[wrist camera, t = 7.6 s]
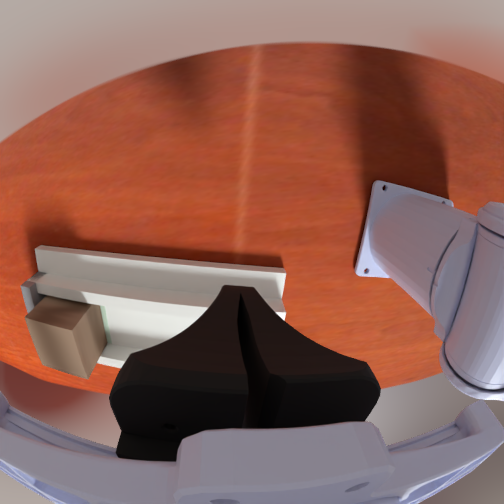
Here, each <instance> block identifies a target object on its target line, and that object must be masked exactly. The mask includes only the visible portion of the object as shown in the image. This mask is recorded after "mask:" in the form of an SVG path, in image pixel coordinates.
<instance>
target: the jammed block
mask: <svg viewBox="0 0 504 504" xmlns="http://www.w3.org/2000/svg"><path fill="white" fill-rule="evenodd" d="M25 320H26V323H27V326H28V329H29V332H30V335H31V337H32V340H33V343H34V345H35V348H36V350H37V353H38V355H39V358H40V360H41V362H42V365H44V366H47V367H50V368H53V369H56V370H59V371H62V372H65V373H68V374H71V375H75V376H78V377H81V378H85V379H89V377H90V375H91V373H92V371H93V369H94V367H95V365H96V363H97V361H98V360H99V358H100V356H101V354H102V352H103V350H104V348H105V347H106V345H107V343H108V342H107V338H106V333H105V329H104V324H103V319H102V314H101V308H100V305H95V304H89V303H84V302H79V301H73V300H68V299H63V298H59V297H54V296H49V295H47V296H46V297H45V298H44V299H42V300H41V301H40V302H39V303H38V304H37V305H36V306H35V307H34V308H33V309H32V310H31V311H30V312H29V313H28V314H27V315H26V316H25Z"/></svg>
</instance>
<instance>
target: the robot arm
mask: <svg viewBox="0 0 504 504" xmlns="http://www.w3.org/2000/svg"><path fill="white" fill-rule="evenodd" d="M384 185H385V190H384V191H383V189H382V187H383V186H384ZM442 202H443V204H442ZM366 268H367V271H366V272H364V270H365V269H366ZM355 273H356V274H357V275H358V276H368V277H385V278H392V279H393V280H394V281H395V282H396V283H397V284H398V285H399V286H400V287H402V288H403V289H404V290H405V291H406V292H407V293H408V294H409V295H410V296H411V297H412V298H413V299H414V300H416V301H417V302H418V303H419V304H420V305H421V306H422V307H423V308H424V309H425V310H426V311H427V312H428V313H429V314H430V315H431V316H432V317H433V318H434V319H435V328H434V333H435V334H436V335H437V336H438V337H439V338H440V339H441V340H442V341H443V344H442V346H441V349H440V353H439V361H440V365H441V368H442V370H443V372H444V374H445V375H446V377H447V379H448V380H449V381H450V382H451V383H452V384H453V385H454V386H455V387H456V388H457V389H458V390H460V391H461V392H463V393H464V394H466V395H469V396H471V397H474V398H477V399H481V400H479V401H477V402H475V403H473V404H471V405H469V406H467V407H466V408H464V409H463V410H462V411H461V412H460V413H459V415H458V416H457V417H456V419H455V421H453V422H451V423H448V424H446V425H444V426H441V427H439V428H437V429H434V430H432V431H429V432H427V433H424V434H421V435H419V436H416V437H413V438H410V439H407V440H404V441H401V442H398V443H395V444H391V445H388V446H386V444H385V442H384V440H383V437H382V435H381V433H380V431H379V429H378V428H377V427H376V426H375V425H374V424H373V423H371V422H364V421H365V420H366V418H367V417H368V416H369V414H370V413H371V411H372V409H373V408H374V406H375V405H376V403H377V401H378V399H379V396H380V391H381V388H380V385H379V383H378V381H377V379H376V377H375V376H374V374H373V372H372V370H371V369H370V367H369V365H368V364H367V362H364V361H360V360H357V359H354V358H351V357H348V356H344V355H342V354H339V353H337V352H334V351H332V350H330V349H328V348H325V347H323V346H321V345H319V344H318V343H316V342H314V341H312V340H311V339H309V338H307V337H306V336H304V335H302V334H301V333H300V332H298V331H297V330H295V329H294V328H293V327H291V326H290V325H289V324H288V323H286V322H285V321H284V320H283V319H282V318H281V317H280V316H279V315H278V314H277V313H276V312H275V311H274V310H273V309H272V308H271V307H270V306H269V305H268V304H267V303H266V301H265V300H264V299H263V298H262V297H261V295H260V294H259V293H258V292H257V290H256V289H255V288H254V287H248V286H235V285H224V286H222V288H221V290H220V292H219V294H218V296H217V297H216V299H215V300H214V301H213V303H212V304H211V305H210V306H209V308H208V309H207V310H206V311H205V312H204V313H203V314H202V315H201V316H200V317H199V318H198V319H197V320H196V321H195V322H194V323H193V324H191V325H190V326H189V327H188V328H186V329H185V330H183V331H182V332H180V333H179V334H177V335H176V336H174V337H172V338H170V339H168V340H166V341H164V342H162V343H160V344H158V345H155V346H152V347H150V348H147V349H143V350H140V351H137V352H134V353H131V354H130V355H129V357H128V358H127V360H126V361H125V363H124V364H123V366H122V368H121V369H120V371H119V373H118V375H117V377H116V380H115V382H114V385H113V387H112V390H111V393H110V396H109V400H110V405H111V408H112V410H113V413H114V415H115V417H116V420H117V422H118V424H119V426H120V429H121V435H120V438H119V442H118V445H117V448H113V447H109V446H106V445H103V444H99V443H96V442H92V441H90V440H87V439H83V438H81V437H78V436H75V435H73V434H70V433H67V432H65V431H62V430H60V429H57V428H55V427H53V426H50V425H48V424H46V423H43V422H41V421H39V420H37V419H35V418H33V417H31V416H29V415H27V414H25V413H23V412H21V411H19V410H17V409H15V408H14V407H12V406H10V405H9V403H8V401H7V399H6V398H5V396H4V395H3V394H2V392H1V391H0V470H2V471H3V472H5V473H6V474H7V475H9V476H10V477H12V478H13V479H15V480H16V481H18V482H19V483H21V484H22V485H24V486H25V487H27V488H29V489H30V490H32V491H34V492H35V493H37V494H39V495H41V496H42V497H44V498H46V499H48V500H50V501H51V502H53V503H55V504H417V503H419V502H421V501H423V500H425V499H427V498H429V497H431V496H432V495H434V494H436V493H438V492H439V491H441V490H443V489H445V488H446V487H448V486H449V485H451V484H453V483H454V482H456V481H457V480H459V479H461V478H462V477H464V476H465V475H467V474H468V473H470V472H471V471H472V470H474V469H475V468H476V467H477V466H478V465H480V464H481V463H482V462H483V461H484V460H485V459H486V458H487V457H489V456H490V455H491V454H492V453H493V452H494V451H495V450H496V449H497V448H498V447H499V446H500V445H501V444H502V443H503V442H504V428H503V427H502V425H501V424H500V422H499V421H498V419H497V418H496V417H495V415H494V414H493V413H492V411H491V410H490V408H489V407H488V406H487V404H486V403H485V402H484V401H483V400H501V401H504V204H503V203H498V202H488V203H487V204H486V205H485V206H484V207H481V208H479V210H478V215H477V216H475V215H472V214H470V213H467V212H465V211H462V210H459V209H457V208H454V207H453V202H452V201H451V200H448V199H445V198H442V197H439V196H435V195H432V194H429V193H425V192H422V191H418V190H415V189H411V188H408V187H404V186H400V185H396V184H392V183H388V182H384V181H380V180H376V181H375V182H374V183H373V186H372V192H371V198H370V203H369V208H368V213H367V218H366V223H365V228H364V233H363V237H362V241H361V246H360V250H359V254H358V258H357V262H356V266H355Z"/></svg>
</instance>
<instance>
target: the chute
mask: <svg viewBox="0 0 504 504" xmlns="http://www.w3.org/2000/svg"><path fill="white" fill-rule="evenodd" d="M35 254H36V260H37V266H38V272H37V273H36V274H35V275H33V276H32V277H31V278H29V279H28V280H27V281H26V282H24V283H23V284H22V285H21V290H22V294H23V297H24V301H25V305H26V308H27V311H28V313H29V312H30V311H31V310H32V309H33V308H34V307H35V306H36V305H37V304H38V303H39V302H40V301H41V300H42V299H44V298H45V297H46V296H47V295H49V296H54V297H59V298H63V299H68V300H73V301H79V302H84V303H89V304H95V305H100V308H101V314H102V319H103V324H104V329H105V333H106V338H107V342H108V343H107V345H106V347H105V348H104V350H103V352H102V354H101V356H100V358H99V360H98V361H97V363H99V364H104V365H108V366H113V367H117V368H122V366H123V364H124V363H125V361H126V360H127V358H128V357H129V355H130V354H131V353H134V352H137V351H140V350H143V349H147V348H150V347H152V346H155V345H158V344H160V343H162V342H164V341H166V340H168V339H170V338H172V337H174V336H176V335H177V334H179V333H180V332H182V331H183V330H185V329H186V328H188V327H189V326H190V325H191V324H193V323H194V322H195V321H196V320H197V319H198V318H199V317H200V316H201V315H202V314H203V313H204V312H205V311H206V310H207V309H208V308H209V306H210V305H211V304H212V303H213V301H214V300H215V299H216V297H217V296H218V294H219V292H220V290H221V288H222V286H224V285H235V286H248V287H254V288H255V289H256V290H257V292H258V293H259V294H260V295H261V297H262V298H263V299H264V300H265V301H266V303H267V304H268V305H269V306H270V307H271V308H272V309H273V310H274V311H275V312H276V313H277V314H278V315H279V316H280V317H281V318H282V319H283V320H285V315H286V311H285V308H284V305H283V302H282V294H283V289H284V283H285V278H286V272H285V269H284V268H277V267H264V266H252V265H239V264H227V263H216V262H204V261H193V260H182V259H171V258H160V257H150V256H139V255H129V254H119V253H109V252H99V251H90V250H80V249H71V248H62V247H53V246H44V245H40V246H38V247H37V248H35Z"/></svg>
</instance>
